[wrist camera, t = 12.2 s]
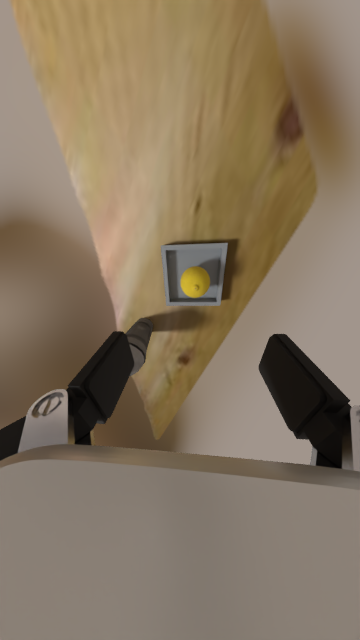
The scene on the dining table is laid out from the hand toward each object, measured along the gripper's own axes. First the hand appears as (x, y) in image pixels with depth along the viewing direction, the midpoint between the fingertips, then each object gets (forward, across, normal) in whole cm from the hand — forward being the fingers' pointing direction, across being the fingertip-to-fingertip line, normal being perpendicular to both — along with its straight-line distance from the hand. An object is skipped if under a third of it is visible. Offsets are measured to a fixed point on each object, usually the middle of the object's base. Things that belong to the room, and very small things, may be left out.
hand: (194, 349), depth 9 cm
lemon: (+23, 0, +1) cm, 23 cm away
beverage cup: (+24, +13, +14) cm, 30 cm away
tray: (+24, 0, 0) cm, 24 cm away
